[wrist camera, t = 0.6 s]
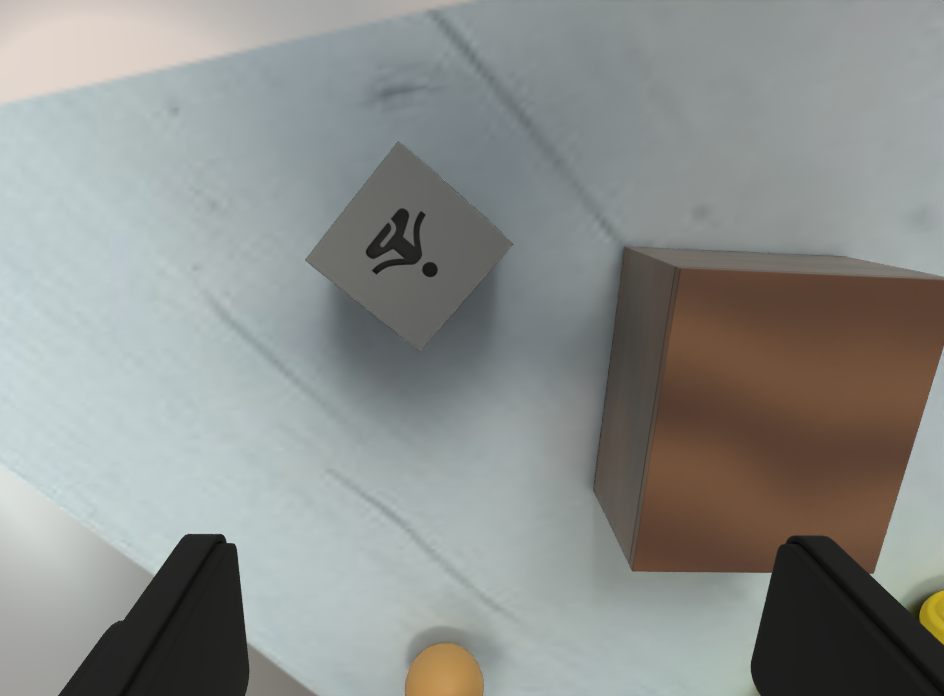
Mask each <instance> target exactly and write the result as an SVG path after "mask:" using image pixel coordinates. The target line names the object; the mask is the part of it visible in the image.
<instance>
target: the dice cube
mask: <svg viewBox="0 0 944 696" xmlns="http://www.w3.org/2000/svg"><path fill="white" fill-rule="evenodd" d="M512 245H513V243H512V242H511V241H510V240H509V239H508V238H506V237H505V236H504V235H503V234H502V233H501V232H500V231H499V230H498V229H497V228H496V227H495V226H494V225H493V224H492V223H490V222H489V221H488V220H487V219H486V218H485V217H484V216H483V215H482V214H480V213H479V212H478V211H477V210H476V209H475V208H474V207H473V206H471V205H470V204H469V203H468V202H467V201H466V200H465V199H464V198H463V197H461V196H460V195H459V194H458V193H457V192H456V191H455V190H454V189H452V188H451V187H450V186H449V185H448V184H447V183H446V182H445V181H443V180H442V179H441V178H440V177H439V176H438V175H437V174H436V173H435V172H433V171H432V170H431V169H430V168H429V167H428V166H427V165H426V164H424V163H423V162H422V161H421V160H420V159H419V158H418V157H417V156H416V155H414V154H413V153H412V152H411V151H410V150H409V149H408V148H406V147H405V146H404V145H402V144H401V143H400V142H397V143H396V145H395V146H394V147H393V149H392V150H391V151H390V152H389V154H388V155H387V156H386V157H385V159H384V160H383V161H382V163H381V164H380V165H379V166H378V168H377V169H376V170H375V171H374V173H373V174H372V175H371V177H370V178H369V179H368V180H367V182H366V183H365V184H364V185H363V187H362V188H361V189H360V191H359V192H358V193H357V194H356V196H355V197H354V198H353V199H352V201H351V202H350V203H349V204H348V206H347V207H346V208H345V210H344V211H343V212H342V213H341V215H340V216H339V217H338V218H337V220H336V221H335V222H334V224H333V225H332V226H331V227H330V229H329V230H328V231H327V232H326V234H325V235H324V236H323V238H322V239H321V240H320V241H319V243H318V244H317V245H316V246H315V248H314V249H313V250H312V252H311V253H310V254H309V255H308V257H307V258H306V259H305V261H306V262H307V263H309V264H310V265H311V266H312V267H314V268H315V269H316V270H318V271H319V272H320V273H321V274H323V275H324V276H325V277H326V278H328V279H329V280H330V281H331V282H333V283H334V284H335V285H336V286H338V287H339V288H340V289H342V290H343V291H344V292H345V293H347V294H348V295H349V296H350V297H352V298H353V299H354V300H355V301H357V302H358V303H359V304H360V305H362V306H363V307H364V308H365V309H367V310H368V311H369V312H371V313H372V314H373V315H374V316H376V317H377V318H378V319H379V320H381V321H382V322H383V323H384V324H386V325H387V326H388V327H389V328H391V329H392V330H393V331H394V332H396V333H397V334H398V335H400V336H401V337H402V338H403V339H405V340H406V341H407V342H408V343H410V344H411V345H412V346H413V347H415V348H416V349H417V350H418V351H420V350H421V349H422V348H423V347H424V346H425V345H426V344H427V342H428V341H429V340H430V339H431V338H432V337H433V336H434V334H435V333H436V332H437V331H438V330H439V329H440V328H441V326H442V325H443V324H444V323H445V322H446V321H447V320H448V318H449V317H450V316H451V315H452V314H453V313H454V312H455V310H456V309H457V308H458V307H459V306H460V305H461V304H462V302H463V301H464V300H465V299H466V298H467V297H468V296H469V294H470V293H471V292H472V291H473V290H474V289H475V288H476V286H477V285H478V284H479V283H480V282H481V281H482V280H483V278H484V277H485V276H486V275H487V274H488V273H489V271H490V270H491V269H492V268H493V267H494V266H495V265H496V263H497V262H498V261H499V260H500V259H501V258H502V257H503V255H504V254H505V253H506V252H507V251H508V250H509V249H510V247H511V246H512Z"/></svg>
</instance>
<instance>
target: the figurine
mask: <svg viewBox="0 0 944 696" xmlns="http://www.w3.org/2000/svg"><path fill="white" fill-rule="evenodd" d="M483 693H484V682H483V676H482V672H481V669H480V667H479V665H478V663H477V661H476V660H475V658H474V657H473V656H472V655H471V654H470V653H469V652H468V651H467V650H466V649H464V648H463V647H461V646H459V645H456V644H452V643H438V644H435V645H432V646H430V647H428V648H426V649H425V650H423V651H422V652H421V653H420V654H419V655H418V656H417V657H416V658H415V660H414V661H413V663H412V664H411V666H410V669H409V671H408V674H407V677H406V683H405V696H483Z"/></svg>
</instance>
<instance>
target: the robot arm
mask: <svg viewBox="0 0 944 696" xmlns="http://www.w3.org/2000/svg"><path fill="white" fill-rule="evenodd" d="M751 674H752V678H753V681H754V684H755V686H756V688H757V690H758V692H759V693H760V695H761V696H944V645H943V644H942V643H941V642H940V641H939V640H938V639H937V638H936V637H935V636H934V635H933V634H932V633H931V632H929V631H928V630H927V629H926V628H925V627H924V626H923V625H922V624H921V623H920V622H919V621H918V620H917V619H916V618H915V617H914V616H913V615H912V614H911V613H910V612H908V611H907V610H906V609H905V608H904V607H903V606H902V605H901V604H900V603H899V602H898V601H897V600H896V599H895V598H894V597H893V596H892V595H891V594H890V593H888V592H887V591H886V590H885V589H884V588H883V587H882V586H881V585H880V584H879V583H878V582H877V581H876V580H875V579H874V578H873V577H872V576H871V575H870V574H868V573H867V572H866V571H865V570H864V569H863V568H862V567H861V566H860V565H859V564H858V563H857V562H856V561H855V560H854V559H853V558H852V557H851V556H850V555H848V554H847V553H846V552H845V551H844V550H843V549H842V548H841V547H840V546H839V545H838V544H837V543H836V542H835V541H834V540H832V539H831V538H830V537H828V536H824V535H794V536H790V537H789V538H788V539H787V541H786V543H785V544H782V545H780V547H779V548H778V550H777V554H776V558H775V562H774V567H773V571H772V575H771V579H770V584H769V588H768V592H767V596H766V601H765V605H764V609H763V613H762V618H761V622H760V626H759V631H758V635H757V639H756V643H755V648H754V652H753V656H752V660H751ZM248 680H249V661H248V652H247V642H246V632H245V623H244V613H243V603H242V594H241V584H240V575H239V565H238V555H237V548H236V546H235V544H233V543H226V539H225V537H224V535H222V534H187V535H185V536H184V537H183V538H182V539H181V540H180V542H179V543H178V544H177V546H176V547H175V549H174V550H173V551H172V553H171V554H170V556H169V557H168V558H167V560H166V561H165V563H164V564H163V566H162V567H161V568H160V570H159V571H158V573H157V574H156V575H155V577H154V578H153V580H152V581H151V582H150V584H149V585H148V587H147V588H146V589H145V591H144V592H143V594H142V595H141V596H140V598H139V599H138V601H137V602H136V603H135V605H134V606H133V608H132V609H131V610H130V612H129V613H128V615H127V616H126V618H125V619H124V620H123V621H118V622H116V623H114V624H113V625H111V627H110V628H109V629H108V630H107V631H106V632H105V633H104V634H103V636H102V637H101V638H100V640H99V641H98V643H97V644H96V645H95V646H94V648H93V649H92V650H91V652H90V653H89V655H88V656H87V657H86V659H85V660H84V661H83V663H82V664H81V666H80V667H79V668H78V670H77V671H76V672H75V674H74V675H73V676H72V678H71V679H70V680H69V682H68V683H67V685H66V686H65V687H64V689H63V690H62V691H61V693H60V694H59V695H58V696H245V693H246V690H247V686H248Z"/></svg>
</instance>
